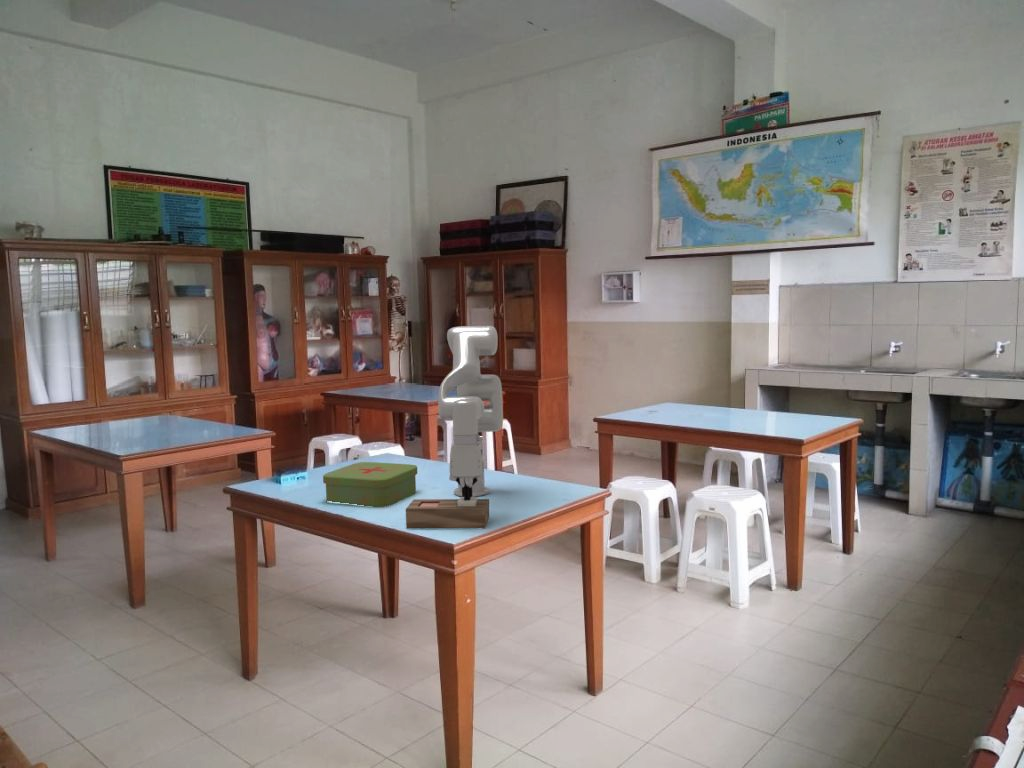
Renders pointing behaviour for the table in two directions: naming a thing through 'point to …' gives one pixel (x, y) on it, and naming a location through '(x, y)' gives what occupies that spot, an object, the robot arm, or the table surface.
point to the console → (447, 514)
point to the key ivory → (467, 501)
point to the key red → (429, 505)
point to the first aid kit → (371, 483)
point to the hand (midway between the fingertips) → (467, 499)
